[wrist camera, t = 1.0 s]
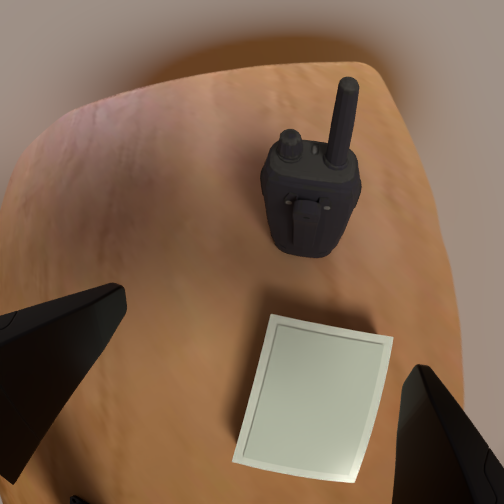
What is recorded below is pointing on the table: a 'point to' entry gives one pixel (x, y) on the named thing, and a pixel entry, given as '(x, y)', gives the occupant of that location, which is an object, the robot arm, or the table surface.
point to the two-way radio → (313, 183)
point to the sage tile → (313, 400)
